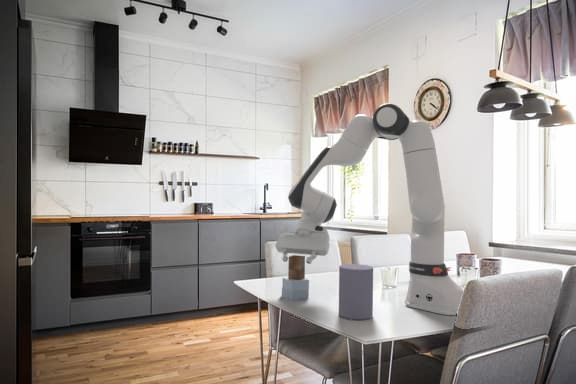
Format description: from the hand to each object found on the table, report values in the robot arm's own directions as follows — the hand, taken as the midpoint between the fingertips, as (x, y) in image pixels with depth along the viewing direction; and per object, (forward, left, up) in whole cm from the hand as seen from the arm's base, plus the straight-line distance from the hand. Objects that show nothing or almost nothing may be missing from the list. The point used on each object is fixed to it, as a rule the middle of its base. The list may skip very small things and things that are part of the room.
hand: (296, 261), depth 154 cm
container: (-29, -4, -13) cm, 32 cm away
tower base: (0, 0, -13) cm, 13 cm away
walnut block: (0, -1, -6) cm, 6 cm away
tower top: (0, 0, -10) cm, 10 cm away
